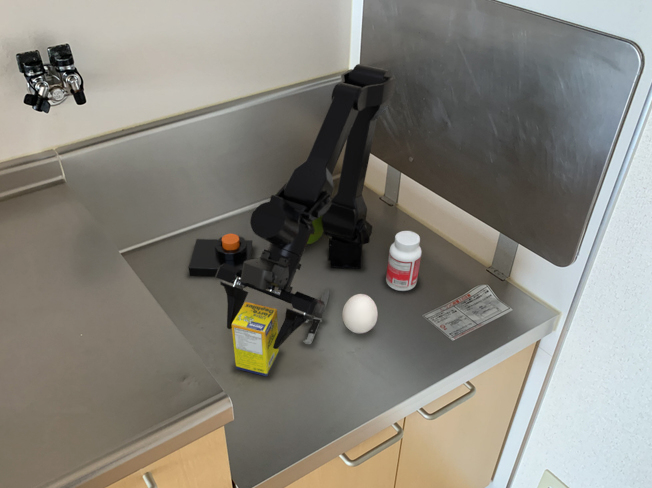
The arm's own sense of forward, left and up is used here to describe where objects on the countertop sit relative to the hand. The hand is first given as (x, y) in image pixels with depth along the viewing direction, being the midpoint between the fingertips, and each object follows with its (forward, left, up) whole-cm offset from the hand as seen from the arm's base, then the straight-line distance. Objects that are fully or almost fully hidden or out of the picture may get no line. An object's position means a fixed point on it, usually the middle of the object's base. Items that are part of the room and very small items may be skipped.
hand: (251, 338), depth 102 cm
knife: (-11, -13, -7) cm, 18 cm away
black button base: (+9, -29, -7) cm, 31 cm away
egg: (-19, -10, -7) cm, 22 cm away
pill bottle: (-28, -24, -7) cm, 37 cm away
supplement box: (-1, -1, -7) cm, 7 cm away
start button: (+7, -30, -3) cm, 31 cm away
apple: (-7, -39, -7) cm, 40 cm away
